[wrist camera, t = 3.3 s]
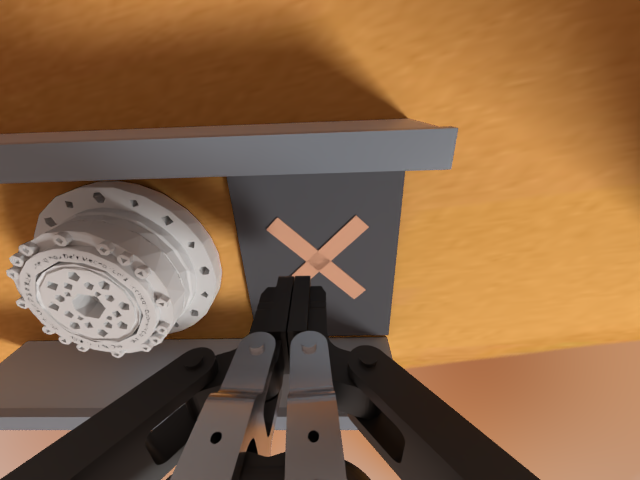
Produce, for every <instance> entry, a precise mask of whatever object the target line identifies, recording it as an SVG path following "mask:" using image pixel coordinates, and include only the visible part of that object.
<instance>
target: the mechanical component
mask: <svg viewBox="0 0 640 480" xmlns="http://www.w3.org/2000/svg"><path fill="white" fill-rule="evenodd" d="M9 259H10V262H11V263H12V264H13V267H12V268H10V269H8V270H7V271H6V272H7V276H9V277H10V278H11V279H13V280H14V282H15V285H16V287H17V289H18V291H19V293H20V295H21V296H22V297H21V298H19V299H18V300H17V301H16V303H17V306H19V307H21V308H23V309H27V308H29V309H30V310H31V311H32V313H33V314H34V315H35V316H36V317H37V318H38V319H39V320H40V322H41V323H42V324H44V326H43V328H42V330H43V332H44V333H46V334H49V335H51V334H54V333H56V334H58V335H59V336H60V337H59V341H60V342H61V343H63V344H70V343H71V342H74V343H77V344H78V345H77V346H76V347H77V349H78V350H79V351H82V352H86V351H87V350H88V349H89V348H91V349H94V350H99V351H105V352H111V354H112V356H114V357H116V358H120V357H122V356H123V355H124V354H125V353H133V352H138V351H144V352H149V351H150V350H151V349H152V347H153V346H155V345H157V344H160V343H162V341H163V339H164V338H165V337H166V336H167V334H170V333H174V332H178V331H182V330H184V329H186V328H188V327H190V326H192V325H194V324H195V323H196V322H198V321H199V320H200V319H201V318H202V317H203V316H204V315H206V313H207V312H208V310H209V308H210V306H211V305H212V303H213V301H214V299H215V297H216V295H217V293H218V291H219V289H220V284H221V277H222V268H221V264H220V259H219V254H218V251H217V249H216V247H215V245H214V243H213V241H212V239H211V236H210V235H209V234H208V232H207V231H206V230H205V228H204V227H203V226H202V224H201V223H200V222H199V221H198V220H197V219H196V218H195V217H194V216H193V215H192V214H191V213H190V212H189V211H188V210H187V209H185V208H184V207H182V206H181V205H179V204H178V203H176V202H175V201H173V200H172V199H170V198H169V197H167V196H166V195H164V194H162V193H160V192H157V191H154V190H152V189H149V188H146V187H144V186H141V185H138V184H133V183H127V182H121V181H99V182H95V183H92V184H88V185H85V186H81V187H79V188H76V189H74V190H71V191H69V192H66V193H64V194H61V195H59V196H56V197H55V198H54V199H53V200H52V201H51V202H50V203H49V204H48V205H47V206H46V208H45V209H44V210H43V211H42V212H41V213H40V214H39V218H38V222H37V226H36V229H35V233H34V239H33V240H31V241H29V242H26V243H24V244H22V245H19V252H18V253H16V254H14V255H13V256H11V257H10V258H9Z"/></svg>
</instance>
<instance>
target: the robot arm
mask: <svg viewBox="0 0 640 480" xmlns="http://www.w3.org/2000/svg"><path fill="white" fill-rule="evenodd" d="M284 374H290V379H289V394H288V396H287V420H286V452H284V453H280V454H277V455H274V456H271V444H272V438H273V433H274V429H275V424H276V419H277V414H278V409H279V405H280V400H281V395H282V383H283V375H284ZM184 403H185V404H184ZM183 404H184V405H183ZM182 405H183V406H182ZM179 407H180V408H179ZM178 408H179V409H178ZM177 409H178V410H177ZM176 410H177V411H176ZM338 411H341V412H344V413H347V415H348V417H349V419H350V420H351V422H352V423H353V424H354V425H355V426H356V427H357V429H358V430H359V431H360V432H361V433H362V434H363V436H364V437H365V438H366V439H367V440H368V441H369V442H370V444H371V445H372V446H373V447H374V448H375V449H376V451H377V452H378V453H379V454H380V455H381V456H382V458H383V459H384V460H385V461H386V462H387V463H388V464H389V466H390V467H391V468H392V469H393V470H394V471H395V472H396V474H397V475H398V476H399V477H400V478H401V480H540V479H539V478H537V477H536V476H535V475H534V474H533V473H531V472H530V471H529V470H528V469H526V468H525V467H524V466H523V465H522V464H520V463H519V462H518V461H517V460H515V459H514V458H513V457H512V456H510V455H509V454H508V453H507V452H506V451H504V450H503V449H502V448H501V447H499V446H498V445H497V444H496V443H494V442H493V441H492V440H491V439H489V438H488V437H487V436H486V435H484V434H483V433H482V432H481V431H480V430H478V429H477V428H476V427H475V426H474V425H472V424H471V423H469V421H467V420H466V419H465V418H463V417H462V416H461V415H460V414H459V413H458V412H456V411H455V410H454V409H453V408H451V407H450V406H449V405H448V404H446V403H445V402H444V401H443V400H441V399H440V398H439V397H438V396H437V395H435V394H434V393H433V392H431V391H430V390H429V389H428V388H427V387H425V386H424V385H423V384H422V383H421V382H419V381H418V380H417V379H416V378H414V377H413V376H412V375H410V374H409V373H408V372H407V371H406V370H405V369H403V368H402V367H401V366H400V365H398V364H397V363H396V362H395V361H393V360H392V359H391V358H390V357H389V356H387V355H386V354H385V353H384V352H382V351H381V350H380V349H378V348H376V347H374V346H370V345H361V346H358V347H356V348H354V349H353V350H352V351H347V350H343V349H340V348H338V347H336V346H335V345H334V344H332V343H331V341H330V340H329V338H328V335H327V309H326V292H325V291H324V289H323V288H322V286H311V277H310V276H295V277H294V276H279V277H278V281H277V286H276V287H267V288H266V289H265V290H264V292H263V293H262V294H261V296H260V300H259V304H258V306H257V310H256V313H255V316H254V320H253V323H252V326H251V330H250V333H249V335H247V336H246V337H244V338H243V339H242V340H241V342H240V343H239V345H238V348H236V349H234V350H232V351H229V352H225V353H222V354H218V355H215V354H214V352H213V351H212V350H211V349H209V348H206V347H199V348H194V349H191V350H189V351H187V352H185V353H184V354H182V355H181V356H179V357H178V358H177V359H175V360H174V361H172V362H171V363H169V364H168V365H166V366H165V367H163V368H162V369H161V370H159V371H158V372H156V373H155V374H153V375H152V376H150V377H149V378H147V379H146V380H144V381H143V382H142V383H140V384H139V385H137V386H136V387H134V388H133V389H131V390H130V391H128V392H127V393H126V394H124V395H123V396H121V397H120V398H118V399H117V400H115V401H114V402H112V403H111V404H109V405H108V406H107V407H105V408H104V409H102V410H101V411H99V412H98V413H96V414H95V415H93V416H92V417H90V418H89V419H88V420H86V421H85V422H83V423H82V424H80V425H79V426H77V427H76V428H74V429H73V430H72V431H70V432H69V433H67V434H66V435H64V436H63V437H61V438H60V439H58V440H57V441H56V442H54V443H53V444H51V445H50V446H48V447H47V448H45V449H44V450H42V451H41V452H40V453H38V454H37V455H35V456H34V457H32V458H31V459H29V460H28V461H26V462H25V463H23V464H22V465H20V466H19V467H18V468H16V469H15V470H13V471H12V472H10V473H9V474H8V475H6V476H5V477H3V478H2V479H0V480H161V479H162V478H163V477H164V476H165V475H166V474H167V473H168V472H169V471H170V470H171V469H173V468H174V466H176V468H175V470H174V472H173V474H172V475H171V476H170V477H169V478H167V479H166V480H370V478H369V477H368V476H367V475H366V474H365V473H364V472H362V471H361V470H360V469H359V468H358V467H356V466H355V465H353V464H352V463H350V462H348V461H346V460H344V454H343V448H342V439H341V431H340V424H339V416H338ZM173 412H174V413H173ZM172 413H173V414H172ZM171 414H172V415H171ZM168 416H169V417H168ZM167 417H168V418H167ZM166 418H167V419H166ZM165 419H166V420H165ZM163 420H164V421H163ZM162 421H163V422H162ZM161 422H162V423H161ZM160 423H161V424H160ZM157 425H158V426H157ZM156 426H157V427H156ZM155 427H156V428H155ZM154 428H155V429H154Z"/></svg>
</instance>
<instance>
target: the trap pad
mask: <svg viewBox="0 0 640 480" xmlns="http://www.w3.org/2000/svg"><path fill="white" fill-rule="evenodd" d="M404 176H405V171H381V172H350V173H318V174H286V175H255V176H226V177H227V182H228V187H229V193H230V198H231V203H232V208H233V214H234V219H235V224H236V229H237V235H238V240H239V245H240V250H241V256H242V261H243V266H244V271H245V277H246V282H247V287H248V292H249V298H250V303H251V308H252V314H253V319H254V316H255V313H256V310H257V306H258V304H259V300H260V296H261V294H262V293H263V292H264V290H265V289H266V288H267V287H276V286H277V281H278V277H279V276H294V277H295V276H310V277H311V286H322V288H323V289H324V291H325V292H326V309H327V335H328V336H351V335H388V334H389V324H390V314H391V304H392V294H393V285H394V275H395V265H396V255H397V245H398V235H399V226H400V216H401V206H402V196H403V186H404Z"/></svg>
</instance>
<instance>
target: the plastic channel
mask: <svg viewBox="0 0 640 480" xmlns="http://www.w3.org/2000/svg"><path fill="white" fill-rule="evenodd" d="M457 132H458V128H456V127H452V126H449V127H438V126H435V125H431V124H427V123H424V122H420V121H416V120H412V119H382V120H356V121H329V122H303V123H277V124H250V125H224V126H198V127H171V128H145V129H119V130H92V131H66V132H39V133H13V134H0V184H1V183H33V182H65V181H96V180H128V179H160V178H191V177H223V176H255V175H286V174H318V173H350V172H381V171H413V170H445V169H451V167H452V161H453V155H454V149H455V144H456V138H457ZM241 340H242V339H173V340H163V341H162V343H160V344H157V345H155V346H153V347H152V349H151V350H150V351H149V352H144V351H138V352H133V353H125V354H124V355H123V356H122V357H120V358H116V357H114V356H112V354H111V352H105V351H99V350H94V349H91V348H89V349H88V350H87V351H86V352H82V351H79V350H78V349H77V347H76V346H77V345H78V344H77V343H74V342H71V343H70V344H63V343H61V342H60V341H27V342H26V343H24V344H23V345H22V346H21V347H20V348H18V349H17V350H16V351H15V352H13V353H12V354H11V355H10V356H9V357H7V358H6V359H5V360H4V361H3V362H1V363H0V430H73V429H74V428H76V427H77V426H79V425H80V424H82V423H83V422H85V421H86V420H88V419H89V418H90V417H92V416H93V415H95V414H96V413H98V412H99V411H101V410H102V409H104V408H105V407H107V406H108V405H109V404H111V403H112V402H114V401H115V400H117V399H118V398H120V397H121V396H123V395H124V394H126V393H127V392H128V391H130V390H131V389H133V388H134V387H136V386H137V385H139V384H140V383H142V382H143V381H144V380H146V379H147V378H149V377H150V376H152V375H153V374H155V373H156V372H158V371H159V370H161V369H162V368H163V367H165V366H166V365H168V364H169V363H171V362H172V361H174V360H175V359H177V358H178V357H179V356H181V355H182V354H184V353H185V352H187V351H189V350H191V349H194V348H199V347H206V348H209V349H211V350H212V351H213V352H214V354H215V355H218V354H222V353H225V352H229V351H232V350H234V349H236V348H238V345H239V343H240V342H241ZM329 340H330V341H331V343H332V344H334V345H335V346H336V347H338V348H340V349H343V350H347V351H352V350H353V349H354V348H356V347H358V346H361V345H370V346H374V347H376V348H378V349H380V350H381V351H382V352H384V353H385V354H386V355H387V356H389V357H390V358H391V359H392V355H391V351H390V347H389V343H388V339H387V337H349V338H329ZM392 360H393V359H392ZM289 379H290V374H284V375H283V383H282V395H281V400H280V405H279V409H278V414H277V419H276V424H275V429H274V430H286V420H287V396H288V394H289ZM184 404H185V403H184ZM184 404H183V405H184ZM183 405H182V406H183ZM179 408H180V407H179ZM179 408H178V409H179ZM178 409H177V410H178ZM177 410H176V411H177ZM173 413H174V412H173ZM173 413H172V414H173ZM172 414H171V415H172ZM338 416H339V424H340V430H358V429H357V427H356V426H355V425H354V424H353V423H352V422H351V420H350V419H349V417H348V415H347V413H344V412H341V411H338ZM168 417H169V416H168ZM168 417H167V418H168ZM167 418H166V419H167ZM166 419H165V420H166ZM163 421H164V420H163ZM163 421H162V422H163ZM162 422H161V423H162ZM161 423H160V424H161ZM157 426H158V425H157ZM157 426H156V427H157ZM156 427H155V428H156ZM155 428H154V429H155Z"/></svg>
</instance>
